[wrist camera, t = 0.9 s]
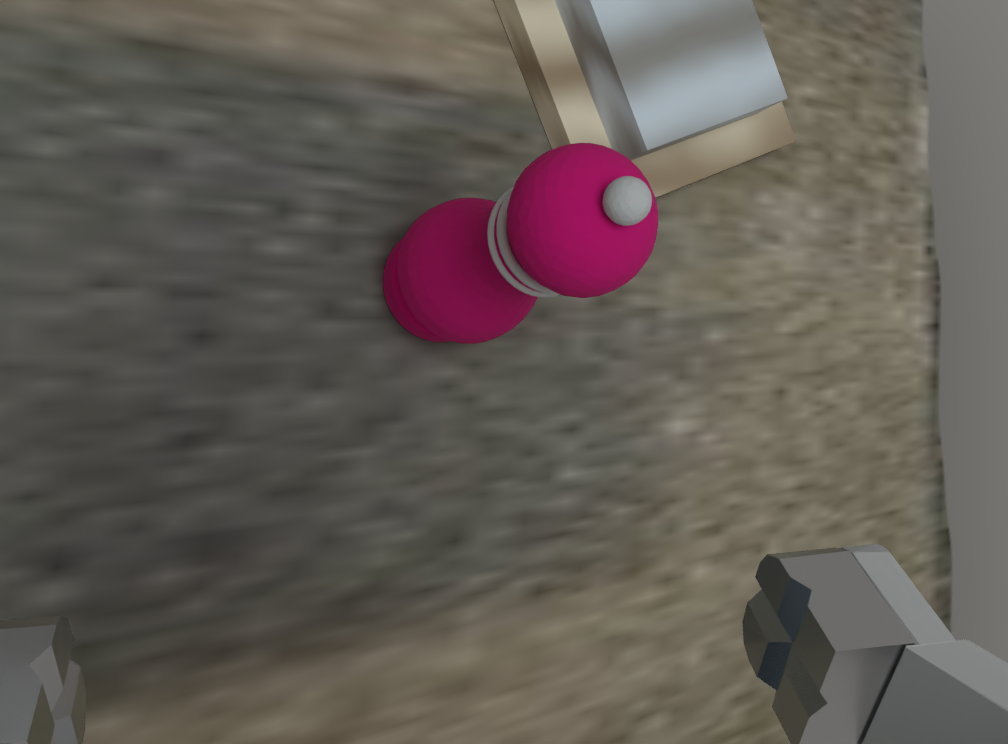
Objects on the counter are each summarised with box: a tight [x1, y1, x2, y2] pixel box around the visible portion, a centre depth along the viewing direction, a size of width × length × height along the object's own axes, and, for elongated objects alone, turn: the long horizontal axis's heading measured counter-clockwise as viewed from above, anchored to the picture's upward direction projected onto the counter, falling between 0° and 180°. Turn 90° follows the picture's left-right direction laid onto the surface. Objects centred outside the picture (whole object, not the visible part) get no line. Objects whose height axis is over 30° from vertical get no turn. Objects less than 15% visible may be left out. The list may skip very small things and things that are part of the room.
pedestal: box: [494, 0, 796, 198], centre depth 56 cm, size 16×16×5 cm
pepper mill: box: [383, 143, 658, 343], centre depth 43 cm, size 7×7×20 cm
